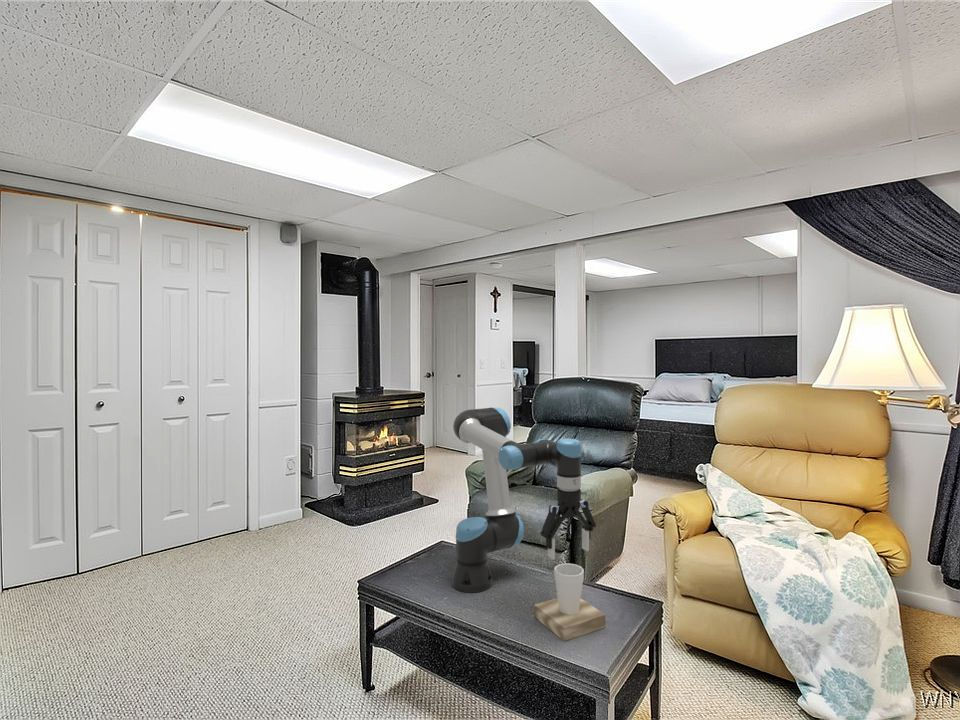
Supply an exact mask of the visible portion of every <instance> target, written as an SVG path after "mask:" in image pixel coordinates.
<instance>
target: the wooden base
mask: <svg viewBox="0 0 960 720" xmlns="http://www.w3.org/2000/svg"><path fill="white" fill-rule="evenodd" d="M533 608H534V609H533V610H534V611H533V612H534V618H535V619H536V620H538V621H539V622H540V623H541V624H543V625H544V626H545V627H546V628H548V629H549V630H550V631H551V632H552V633H554V634H555V635H556V636H557V637H559V638H560V639H561V640H562V641H563V642H567V641H569V640H573V639H575V638H577V637H580V636H581V637H582V636H583V635H586V634H587V635H588V634H589V633H593V632H595V631H598V630H601V629H605V628H606V614H605V613H603V612H602V611H601V610H599V609H597V608H596V607H594V606H593V605H591V603H588V602H587V601H586V600H584V599H582V598H581V600H580V607H579V612H578V613H577V614H573V615H568V614H564V613H562V612H561V611H560V610H559V604H558V597H556V598H553V599H550V600H545V601H542V602H540V603H536V604H534V607H533Z"/></svg>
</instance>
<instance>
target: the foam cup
mask: <svg viewBox="0 0 960 720" xmlns="http://www.w3.org/2000/svg"><path fill="white" fill-rule="evenodd" d="M553 570H554V571H553V573H554V574H553V577H554V581H555V588H556V594H557V597H556V598H558V604H559V610H560V611H561V612H562V613H564V614H568V615H573V614H577V613H578V612H579V607H580V600H581V599H582V590H583V585H584V583H583V581H584V579H585V569H584V568H583V567H582V566H580V565H578V564H575V563H560V564H557V565H556V566H554V568H553Z"/></svg>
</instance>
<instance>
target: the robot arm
mask: <svg viewBox="0 0 960 720" xmlns="http://www.w3.org/2000/svg"><path fill="white" fill-rule="evenodd" d="M511 426H512V423H511V419H510V417H509V415H508V413H507V412H506V411H505V409H503V408H501V407H485V408H473V409H466V410H464V411H461V412H459V414H458V415H456V417H455V419H454V421H453V432H454V435H455V436H456V437H457V438H458V440H460V441H462V442H463V443H465V444H472V445H474V446H476V447H478V448H479V449H481V452H482V459H483V469H484V470H483V471H484V478H485V479H484V480H485V485H486V488H485V489H486V494H487V495H486V496H487V504H488V510H487V511H486V512H485V518H484V517H482V516H472V517H471V516H470V517H467V518H465V519H462V520H461V521H459V522H458V524H457V525H456V530H455V543H456V544H455V546H456V547H455V550H456V551H455V552H456V553H455V556H456V561H455V566H454V569H453V572H452V576H451V586H452V587H453V588H454V589H456V590H457V591H460V592H464V593H479V592H483V591H486V590H488V589H490V588H491V587H492V586H493V575H492V572H491V569H490V566H489V563H488V554H490V553H493V552H497V551H500V550H505V549H511V548H513V547H516V546H518V545H520V543H521V541H523V537H524V534H525V533H524V532H525V529H524V527H525V526H524V523H523V520H522V518H521V516H520V515H518V514H516V510H515V509H514V508H513V507H512V506H511V499H510V498H511V497H510V489H509V481H508V473H507V471H509V470H512V471H513V470H514V471H515V470H519V469H525V468H530V467H537V466H538V467H539V466H544V465H552V466H554V467H556V487H557V488H556V499H557V505H552V504H550V505H549V506H548V512H547V515H546V517H545V518H546V519H545V520H544V523H543V526H542V528H541V531H540V533H539V534H540V536H541V537H543V538H544V539H545V547H546V549H547V557H548V558H550V559H551V560H553V561H554V560H555V559H556V539H555V538H554V537H555V534H556V533H557V531H558V530H559V528H560V526H561V525H562V523H563V522H564V521H565V520H566V519H570V518H576V519H577V520H578V522H579V523H580V525H582V527H583V528H581V549H582V550H584V551H585V552H589V551H590V540H591V533H592V532H593V531H594V528H596V527H597V525H596V522H595V520H594V518H593V515H592V513H591V510H590V507H589V502H588V500H585V499H583V498H582V490H581V486H582V455H583V453H582V446H581V445H582V444H581V441H580V440H578V439H575V438H570V437H569V438H567V437H566V438H560V439H558V440H557V442H556V441H553V440H551V439H547V438H546V439H544V438H539V439H537V440H535V441H534V442H530V443H529V442H528V443H518V442H515V441H514V440H511V439H510V438H509V437H507V436H508V435H509V434H510V432H511ZM580 509H581V511H582V512H580ZM582 513H583V514H582Z"/></svg>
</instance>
